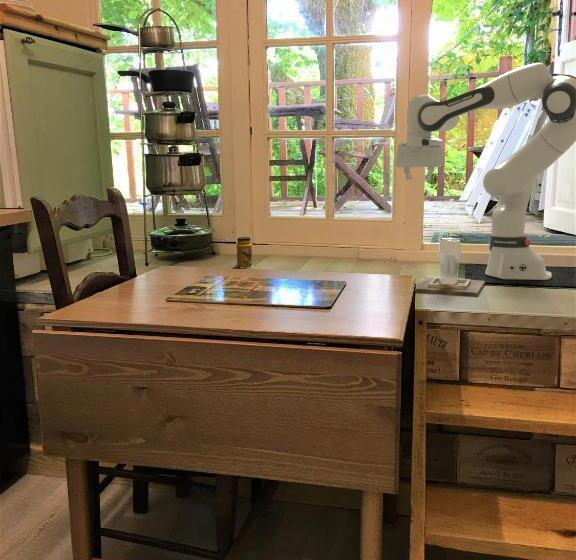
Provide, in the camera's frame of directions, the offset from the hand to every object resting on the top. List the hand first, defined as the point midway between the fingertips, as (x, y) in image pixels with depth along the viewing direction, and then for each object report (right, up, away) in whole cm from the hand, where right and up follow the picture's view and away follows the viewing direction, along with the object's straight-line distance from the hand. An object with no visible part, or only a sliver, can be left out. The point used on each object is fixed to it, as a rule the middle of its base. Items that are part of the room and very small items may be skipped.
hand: (418, 180), depth 230 cm
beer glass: (+4, -39, -26) cm, 47 cm away
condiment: (-67, -32, +23) cm, 77 cm away
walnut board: (+5, -40, -25) cm, 47 cm away
